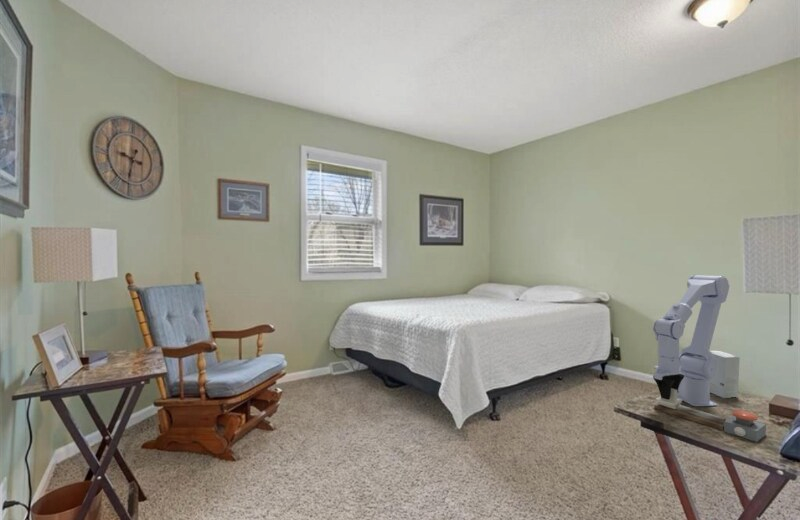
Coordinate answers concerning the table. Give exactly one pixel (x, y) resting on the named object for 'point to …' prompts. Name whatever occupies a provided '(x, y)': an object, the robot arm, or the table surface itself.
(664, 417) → the table surface
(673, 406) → the carriage
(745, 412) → the button
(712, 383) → the skincare box
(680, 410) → the rail board
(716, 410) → the table surface
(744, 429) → the grey square base
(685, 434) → the table surface
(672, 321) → the robot arm
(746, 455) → the table surface
